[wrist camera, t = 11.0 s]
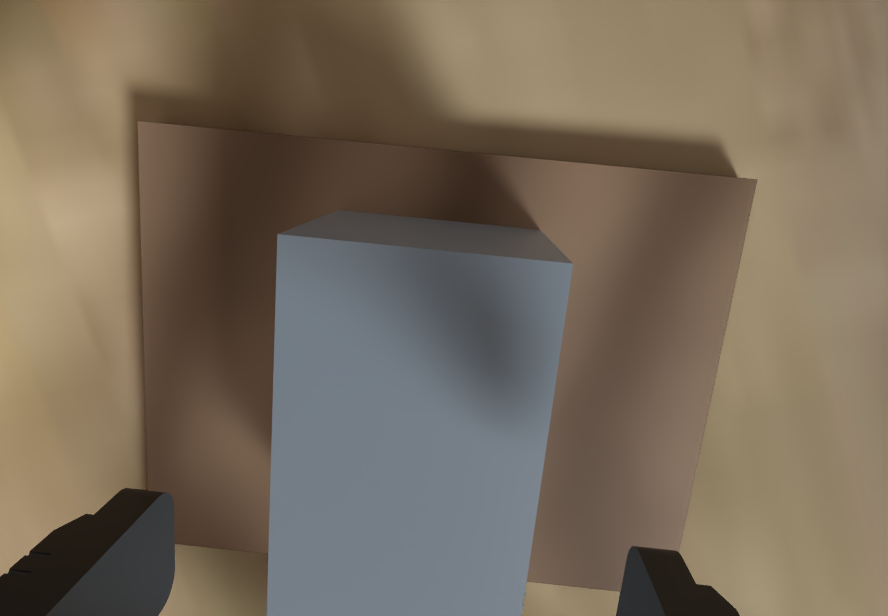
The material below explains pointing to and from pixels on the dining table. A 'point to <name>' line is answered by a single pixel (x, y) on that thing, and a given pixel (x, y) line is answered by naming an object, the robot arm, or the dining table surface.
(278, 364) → the pale blue rectangular box
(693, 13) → the dining table surface
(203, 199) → the plate
